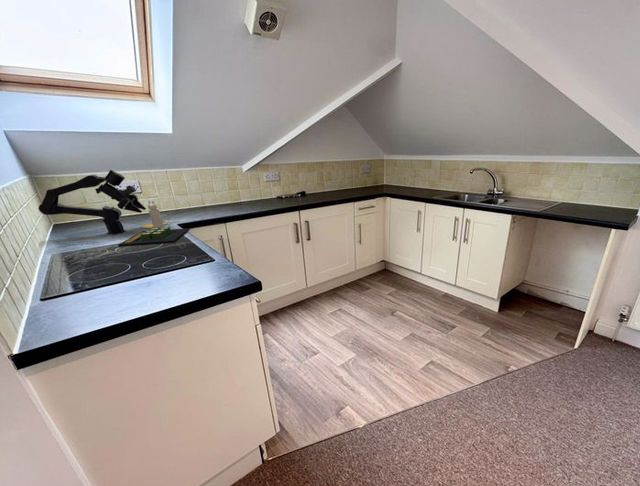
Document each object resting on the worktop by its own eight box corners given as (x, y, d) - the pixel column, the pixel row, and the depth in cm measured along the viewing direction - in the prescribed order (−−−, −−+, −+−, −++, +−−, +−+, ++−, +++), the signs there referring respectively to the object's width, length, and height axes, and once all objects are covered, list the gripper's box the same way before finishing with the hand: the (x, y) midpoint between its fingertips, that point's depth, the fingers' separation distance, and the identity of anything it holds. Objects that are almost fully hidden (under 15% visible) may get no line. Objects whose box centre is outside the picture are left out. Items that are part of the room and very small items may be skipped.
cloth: (148, 228, 178) (148, 227, 178) (140, 227, 181) (140, 226, 181) (168, 223, 188) (167, 223, 188) (160, 222, 191) (160, 222, 191)
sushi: (142, 232, 169) (140, 226, 168) (190, 229, 174) (188, 223, 172) (118, 246, 147) (116, 239, 145) (174, 242, 151) (172, 235, 150)
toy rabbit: (162, 229, 176) (153, 200, 169) (152, 229, 175) (143, 201, 169) (165, 226, 181) (157, 199, 174) (156, 227, 180) (147, 199, 173)
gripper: (116, 183, 156) (148, 202, 164) (127, 179, 172) (155, 197, 180) (104, 199, 156) (136, 218, 165) (115, 194, 172) (144, 211, 181)
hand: (143, 210), depth 173 cm, fingers open, 9 cm apart
